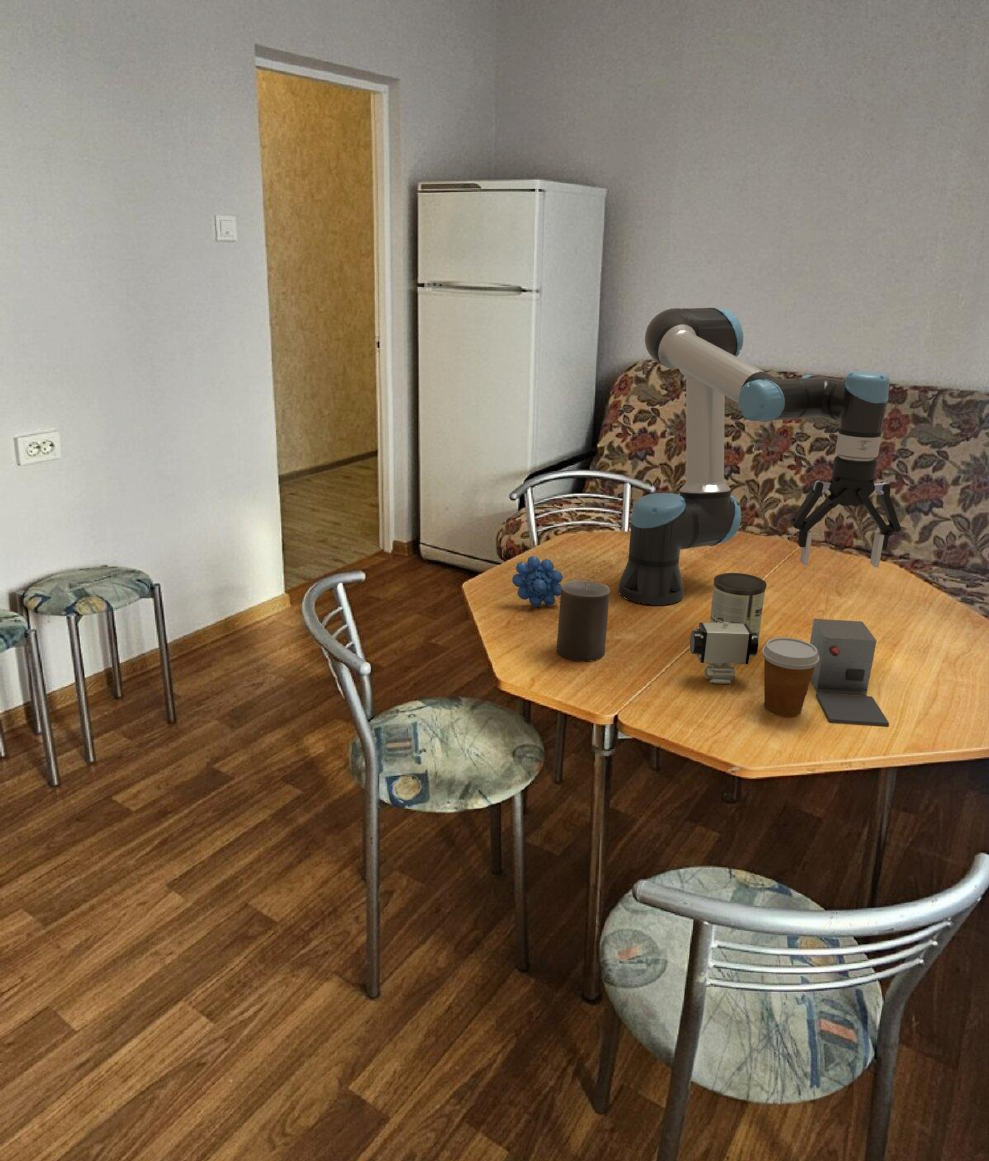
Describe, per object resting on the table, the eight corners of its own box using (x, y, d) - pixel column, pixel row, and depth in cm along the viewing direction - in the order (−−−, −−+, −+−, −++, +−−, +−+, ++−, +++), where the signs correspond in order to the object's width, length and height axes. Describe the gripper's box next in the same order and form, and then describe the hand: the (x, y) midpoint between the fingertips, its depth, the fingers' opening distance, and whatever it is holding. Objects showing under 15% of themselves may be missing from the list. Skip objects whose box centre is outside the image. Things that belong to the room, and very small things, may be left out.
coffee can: (709, 632, 193) (716, 569, 188) (759, 639, 190) (768, 576, 185) (703, 650, 183) (711, 585, 179) (756, 658, 180) (765, 593, 176)
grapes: (513, 614, 199) (515, 562, 195) (509, 602, 206) (511, 552, 201) (565, 613, 200) (568, 562, 196) (560, 602, 207) (563, 552, 203)
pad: (829, 722, 157) (829, 719, 156) (815, 695, 166) (815, 692, 166) (888, 726, 156) (889, 723, 155) (871, 699, 165) (872, 696, 165)
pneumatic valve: (753, 687, 168) (761, 628, 164) (690, 685, 168) (696, 626, 164) (746, 674, 174) (753, 616, 169) (685, 672, 174) (691, 614, 170)
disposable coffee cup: (747, 712, 159) (756, 650, 155) (763, 691, 167) (771, 632, 163) (802, 727, 155) (813, 664, 150) (816, 705, 162) (826, 644, 158)
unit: (817, 693, 167) (826, 638, 163) (805, 670, 176) (813, 618, 172) (867, 696, 166) (877, 642, 162) (852, 673, 175) (862, 620, 171)
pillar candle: (575, 665, 175) (581, 593, 170) (546, 647, 183) (551, 577, 178) (614, 656, 180) (621, 585, 175) (585, 638, 188) (590, 570, 183)
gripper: (794, 458, 166) (779, 568, 173) (931, 463, 165) (911, 572, 173) (783, 450, 173) (769, 555, 181) (915, 454, 172) (896, 560, 180)
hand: (839, 564), depth 177 cm, fingers open, 13 cm apart
